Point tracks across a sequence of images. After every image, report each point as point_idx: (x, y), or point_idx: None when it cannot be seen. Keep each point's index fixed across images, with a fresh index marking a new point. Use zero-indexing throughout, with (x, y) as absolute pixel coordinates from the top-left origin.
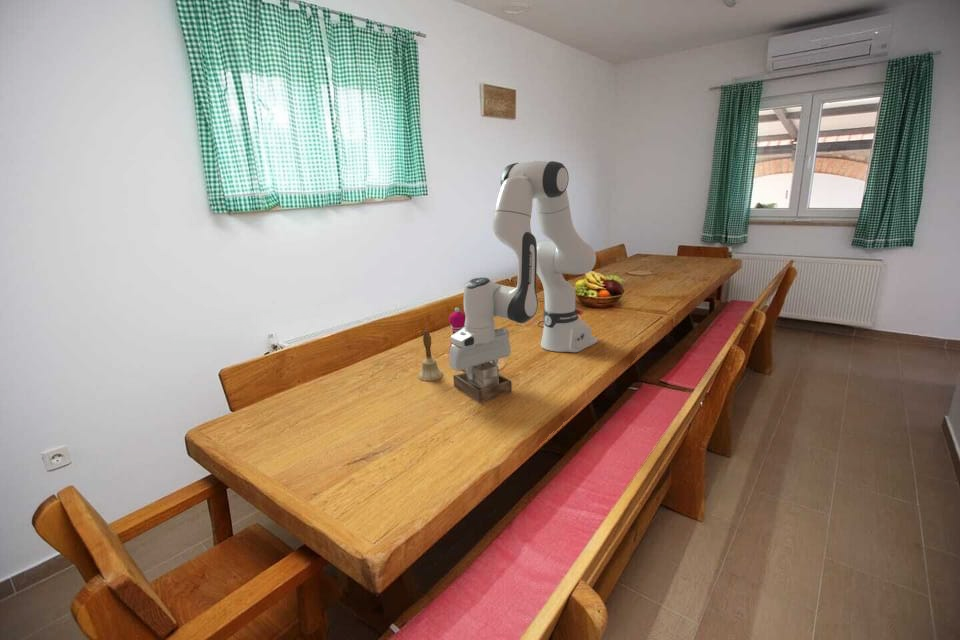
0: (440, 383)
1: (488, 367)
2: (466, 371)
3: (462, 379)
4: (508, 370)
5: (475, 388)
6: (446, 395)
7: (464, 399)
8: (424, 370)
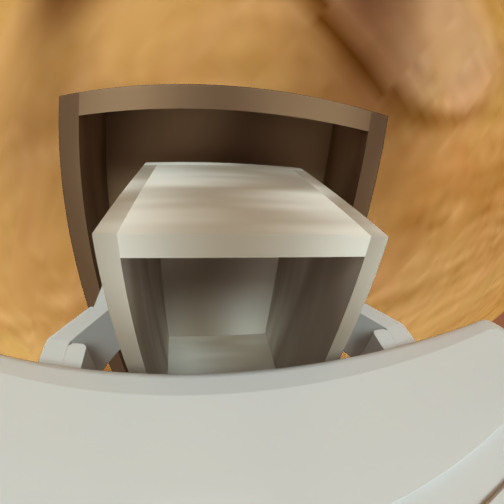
0: (60, 22)
1: (303, 330)
2: (72, 327)
3: (81, 218)
4: (451, 159)
5: (112, 359)
6: (16, 192)
7: (76, 281)
8: None
